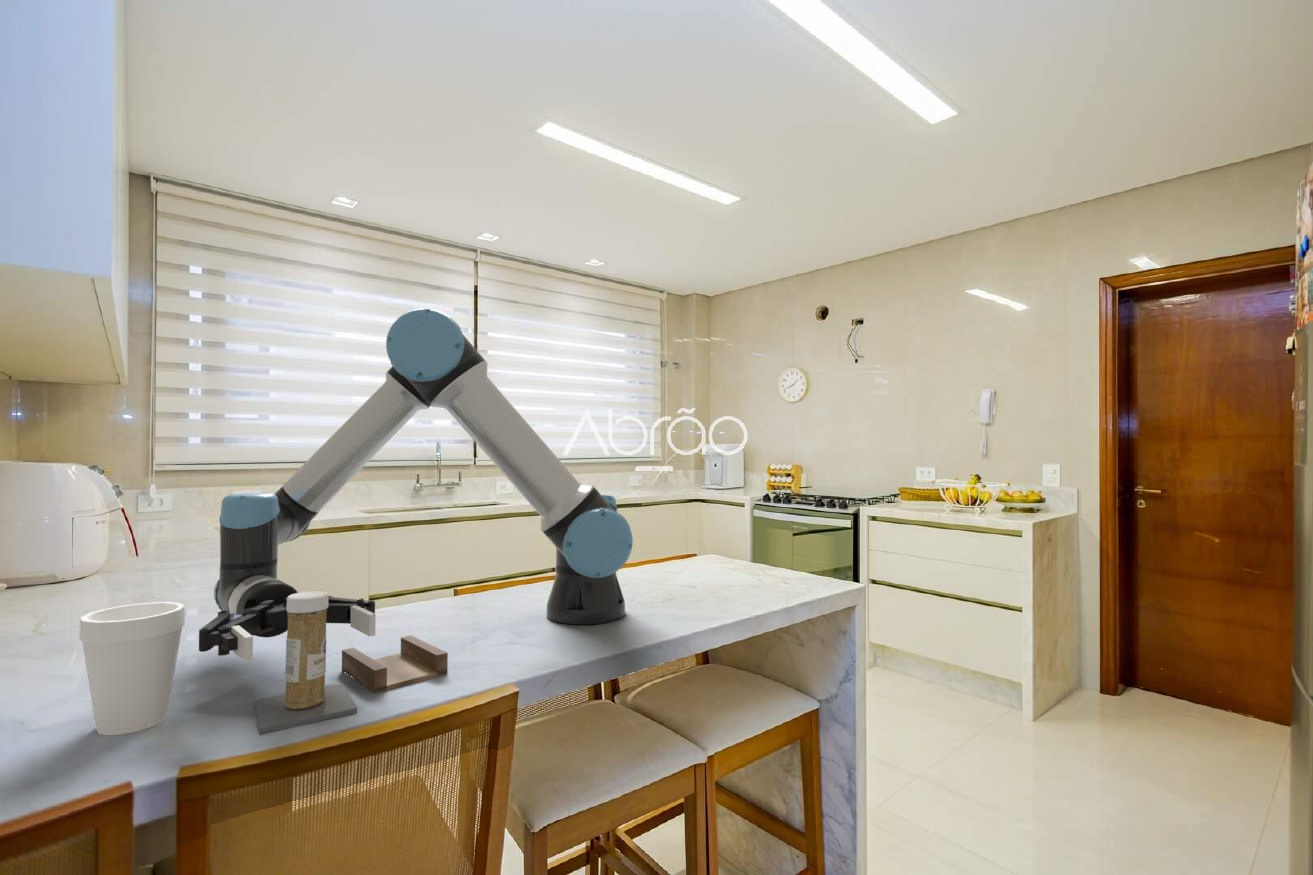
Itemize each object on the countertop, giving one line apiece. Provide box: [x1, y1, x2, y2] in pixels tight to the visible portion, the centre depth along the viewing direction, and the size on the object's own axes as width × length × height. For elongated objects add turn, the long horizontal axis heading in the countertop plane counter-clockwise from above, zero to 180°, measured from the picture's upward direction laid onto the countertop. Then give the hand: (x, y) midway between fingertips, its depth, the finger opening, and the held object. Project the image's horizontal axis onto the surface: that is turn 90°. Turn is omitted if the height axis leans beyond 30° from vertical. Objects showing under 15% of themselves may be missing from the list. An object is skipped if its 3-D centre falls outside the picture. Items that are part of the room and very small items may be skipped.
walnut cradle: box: [341, 635, 449, 694], centre depth 90 cm, size 10×12×3 cm
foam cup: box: [79, 601, 186, 736], centre depth 74 cm, size 10×9×13 cm
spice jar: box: [284, 590, 329, 709], centre depth 78 cm, size 5×5×13 cm
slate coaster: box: [254, 682, 358, 735], centre depth 78 cm, size 10×10×1 cm
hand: (314, 636), depth 76 cm, fingers open, 13 cm apart
